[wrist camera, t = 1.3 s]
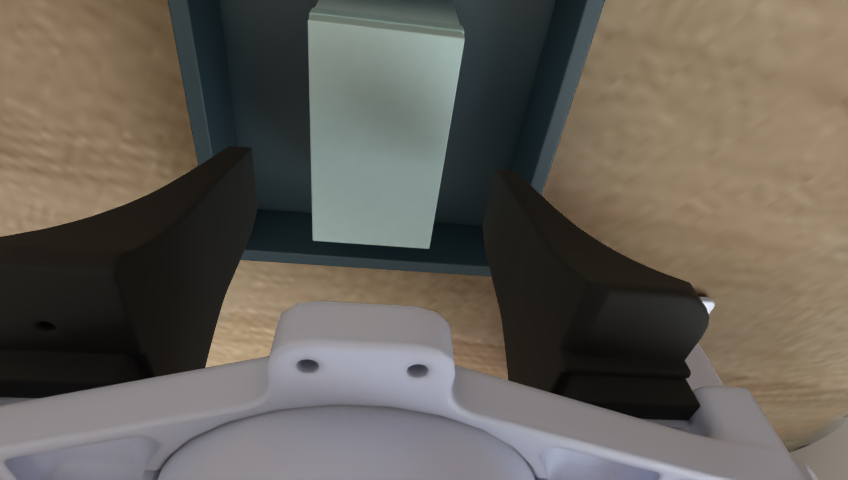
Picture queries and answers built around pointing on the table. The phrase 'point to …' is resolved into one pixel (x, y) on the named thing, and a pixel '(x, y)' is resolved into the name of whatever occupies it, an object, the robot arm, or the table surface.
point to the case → (380, 117)
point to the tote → (468, 136)
